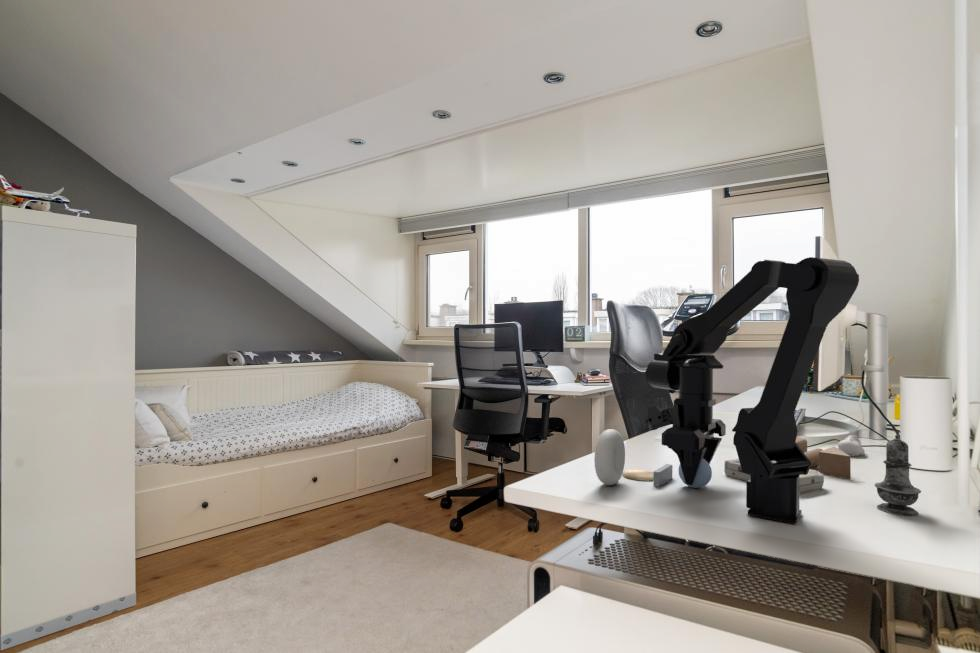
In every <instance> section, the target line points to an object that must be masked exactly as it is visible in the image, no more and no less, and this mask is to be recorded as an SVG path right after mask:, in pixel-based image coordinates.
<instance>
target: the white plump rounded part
mask: <svg viewBox="0 0 980 653" xmlns="http://www.w3.org/2000/svg"><path fill="white" fill-rule="evenodd" d="M625 463H626V447H625V440H624V439H623V436H622V434H621V433H620V432H619V431H618V430H616V429H614V428H609V429H605V430H603V431H602V432H601V433H600V434H599V436H598V438H597V441H596V444H595V449H594V469H595V473H596V477H597V478H598V480H599V482H600V483H602V484H604V485H605V486H613V485H615V484H617V483H619V480H621V478H622V476H623V475H622V473H623V472H624V469H625Z"/></svg>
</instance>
